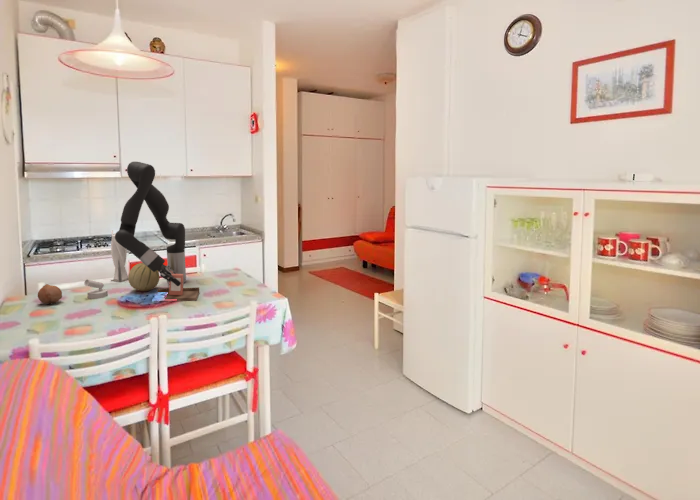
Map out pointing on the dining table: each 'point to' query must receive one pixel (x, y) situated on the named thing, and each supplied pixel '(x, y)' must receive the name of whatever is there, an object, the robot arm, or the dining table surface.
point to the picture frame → (174, 288)
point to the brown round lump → (49, 294)
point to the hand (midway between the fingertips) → (180, 283)
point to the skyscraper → (118, 260)
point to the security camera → (97, 292)
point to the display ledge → (187, 295)
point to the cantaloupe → (143, 277)
